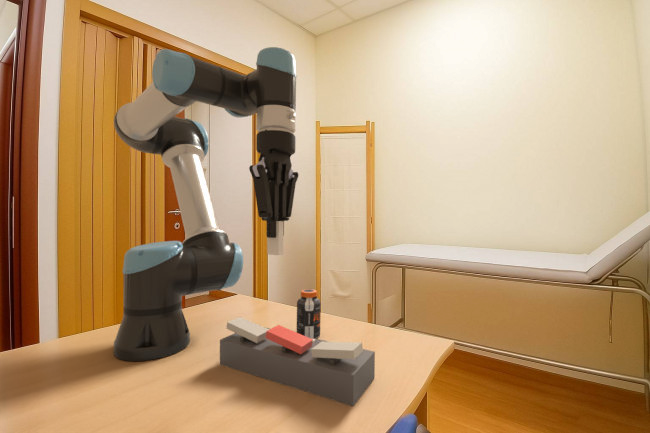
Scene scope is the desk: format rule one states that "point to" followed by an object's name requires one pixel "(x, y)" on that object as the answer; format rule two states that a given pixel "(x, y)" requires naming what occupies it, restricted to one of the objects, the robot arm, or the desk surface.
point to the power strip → (301, 367)
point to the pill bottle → (308, 314)
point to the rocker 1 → (247, 329)
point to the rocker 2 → (337, 350)
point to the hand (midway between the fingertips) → (275, 254)
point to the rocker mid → (289, 339)
